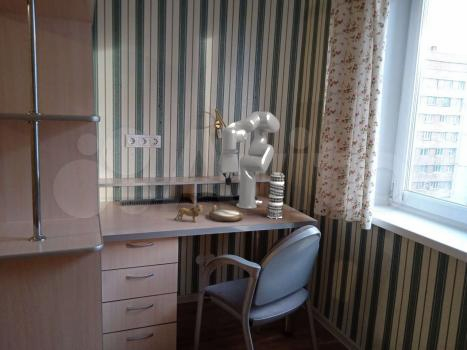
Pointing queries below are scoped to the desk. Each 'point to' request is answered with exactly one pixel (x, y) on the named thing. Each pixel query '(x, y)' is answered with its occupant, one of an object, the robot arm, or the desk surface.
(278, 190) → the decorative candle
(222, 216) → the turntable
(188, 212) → the lion figurine
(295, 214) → the desk surface
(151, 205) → the desk surface
